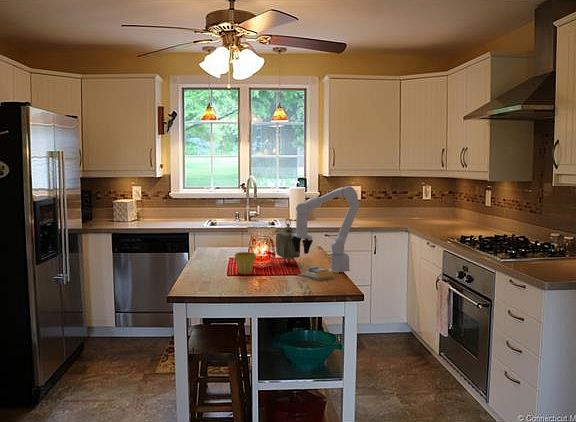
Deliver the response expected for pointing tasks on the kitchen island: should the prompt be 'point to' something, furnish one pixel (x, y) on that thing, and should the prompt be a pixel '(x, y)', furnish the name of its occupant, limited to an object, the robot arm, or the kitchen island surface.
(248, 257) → the plant pot
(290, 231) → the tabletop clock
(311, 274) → the loading dock
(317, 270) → the trolley
